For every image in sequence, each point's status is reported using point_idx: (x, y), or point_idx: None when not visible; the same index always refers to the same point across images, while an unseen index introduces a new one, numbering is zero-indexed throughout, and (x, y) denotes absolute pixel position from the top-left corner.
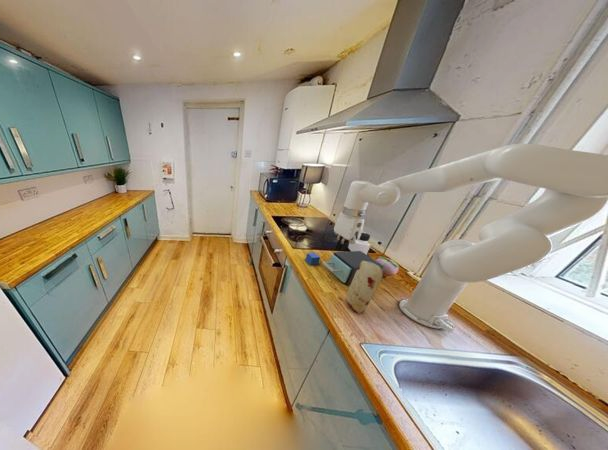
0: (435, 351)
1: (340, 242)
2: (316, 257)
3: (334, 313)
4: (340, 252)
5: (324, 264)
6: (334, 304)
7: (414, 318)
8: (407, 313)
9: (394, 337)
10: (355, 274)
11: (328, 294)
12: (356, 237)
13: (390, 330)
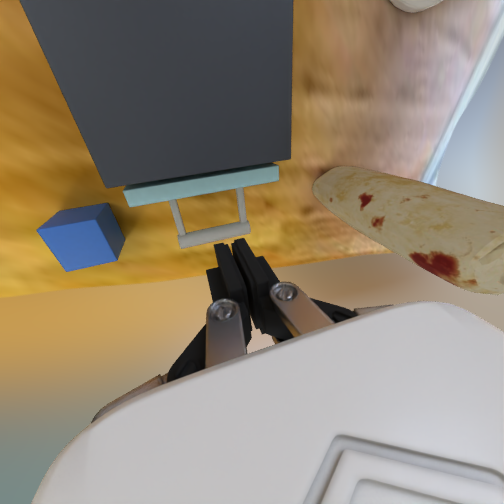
0: (479, 69)
1: (249, 319)
2: (106, 240)
3: (340, 246)
4: (90, 131)
5: (199, 244)
6: (320, 235)
7: (437, 3)
8: (419, 8)
9: (421, 149)
10: (396, 253)
11: (289, 236)
12: (417, 319)
13: (410, 142)
